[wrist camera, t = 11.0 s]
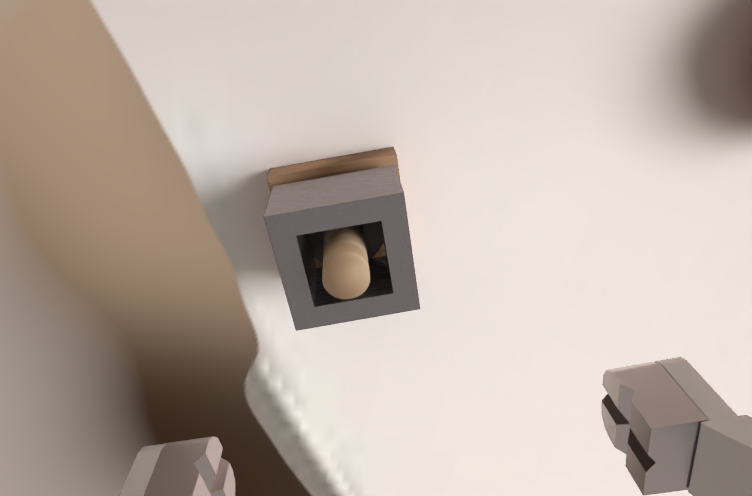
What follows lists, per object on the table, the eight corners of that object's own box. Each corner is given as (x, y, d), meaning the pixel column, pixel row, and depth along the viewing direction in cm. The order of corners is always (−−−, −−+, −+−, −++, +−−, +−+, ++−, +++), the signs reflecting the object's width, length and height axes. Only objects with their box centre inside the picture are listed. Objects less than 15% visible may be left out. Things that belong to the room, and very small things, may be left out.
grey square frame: (394, 164, 26) (403, 192, 23) (409, 270, 29) (420, 308, 26) (272, 186, 26) (263, 216, 23) (300, 289, 29) (295, 330, 26)
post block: (393, 147, 28) (412, 195, 22) (409, 256, 31) (429, 327, 25) (269, 168, 28) (250, 223, 22) (298, 275, 31) (289, 351, 25)
